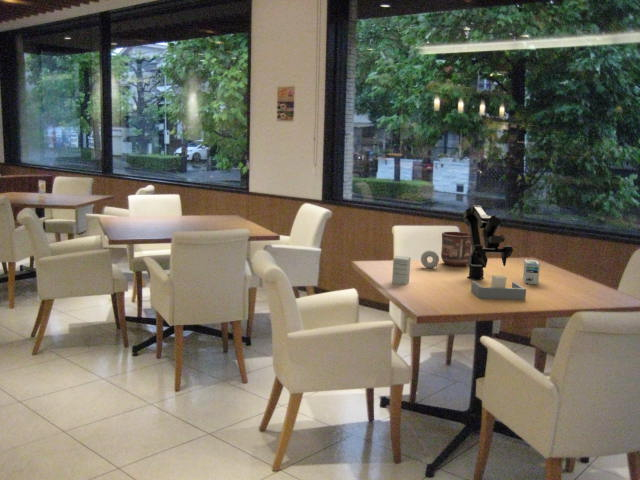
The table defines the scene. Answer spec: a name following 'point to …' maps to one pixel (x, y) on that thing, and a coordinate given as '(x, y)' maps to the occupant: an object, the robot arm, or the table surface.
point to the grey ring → (431, 254)
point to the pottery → (456, 248)
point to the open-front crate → (499, 292)
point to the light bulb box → (531, 271)
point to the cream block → (498, 281)
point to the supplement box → (401, 270)
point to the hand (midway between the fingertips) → (495, 265)
